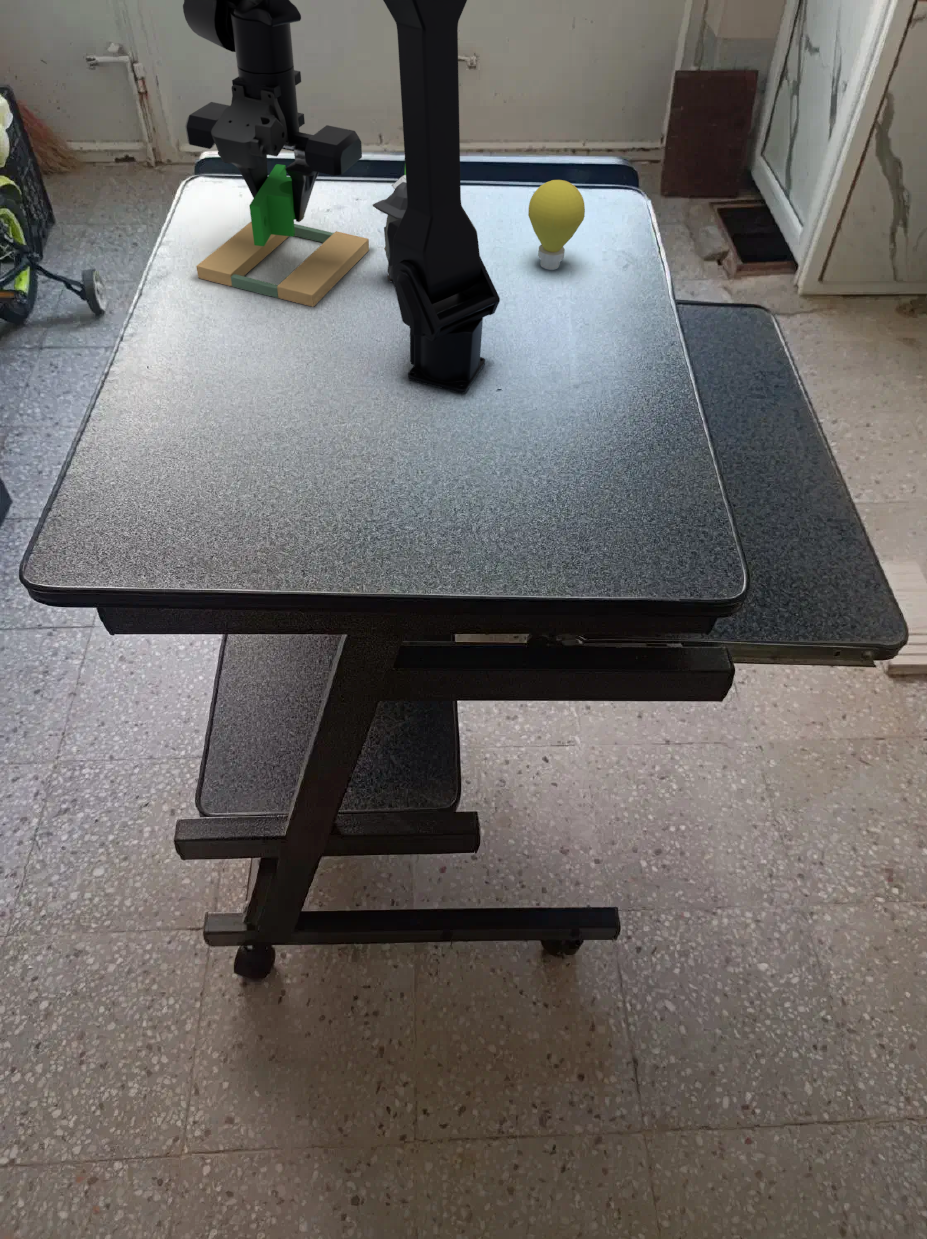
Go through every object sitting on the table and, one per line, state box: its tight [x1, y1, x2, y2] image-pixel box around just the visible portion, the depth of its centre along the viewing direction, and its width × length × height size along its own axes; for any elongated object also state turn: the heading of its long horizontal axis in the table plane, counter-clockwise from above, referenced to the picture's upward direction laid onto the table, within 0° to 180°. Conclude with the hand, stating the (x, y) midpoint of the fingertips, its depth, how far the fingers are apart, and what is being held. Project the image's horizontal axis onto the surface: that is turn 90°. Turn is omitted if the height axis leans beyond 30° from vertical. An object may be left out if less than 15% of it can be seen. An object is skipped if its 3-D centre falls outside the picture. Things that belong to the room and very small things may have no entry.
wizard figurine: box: [372, 182, 407, 283], centre depth 102 cm, size 8×6×12 cm
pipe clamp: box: [249, 163, 304, 246], centre depth 103 cm, size 11×4×5 cm, turn 173°
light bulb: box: [527, 179, 586, 271], centre depth 107 cm, size 7×7×10 cm
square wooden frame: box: [195, 221, 370, 308], centre depth 108 cm, size 15×15×2 cm
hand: (281, 216), depth 104 cm, fingers closed on pipe clamp, 4 cm apart
